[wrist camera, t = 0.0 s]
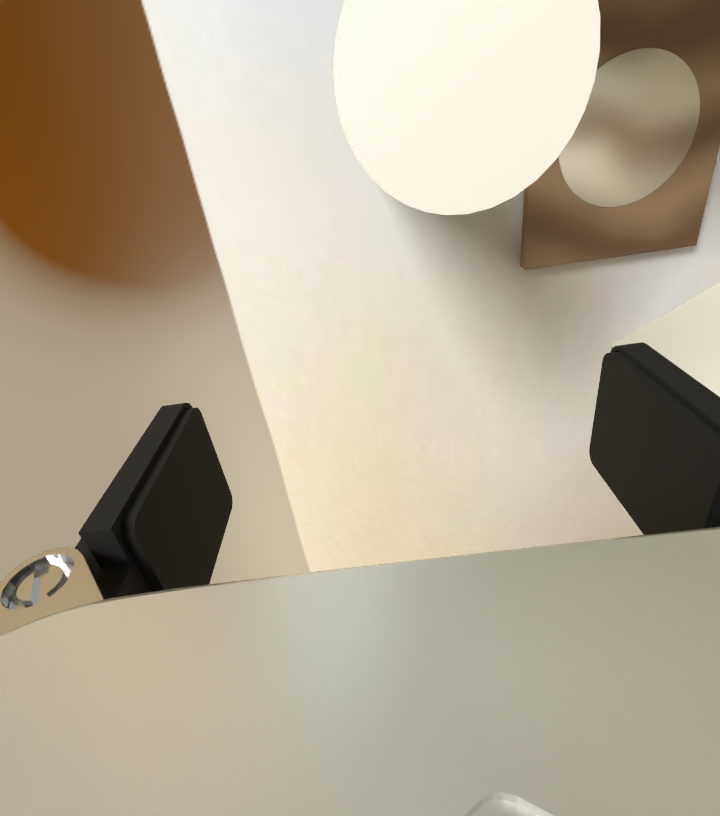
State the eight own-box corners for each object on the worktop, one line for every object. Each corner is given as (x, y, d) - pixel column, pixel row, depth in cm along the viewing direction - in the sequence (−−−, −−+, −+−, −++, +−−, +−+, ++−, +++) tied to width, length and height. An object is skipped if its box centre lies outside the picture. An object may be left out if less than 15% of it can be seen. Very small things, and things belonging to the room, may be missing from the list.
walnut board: (532, -7, 31) (539, -11, 30) (750, -44, 30) (765, -50, 29) (520, 265, 40) (525, 269, 39) (686, 242, 39) (696, 245, 38)
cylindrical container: (452, 62, 33) (654, -60, 11) (422, 172, 36) (532, 239, 15) (353, 31, 32) (369, -166, 10) (332, 148, 35) (311, 182, 14)
